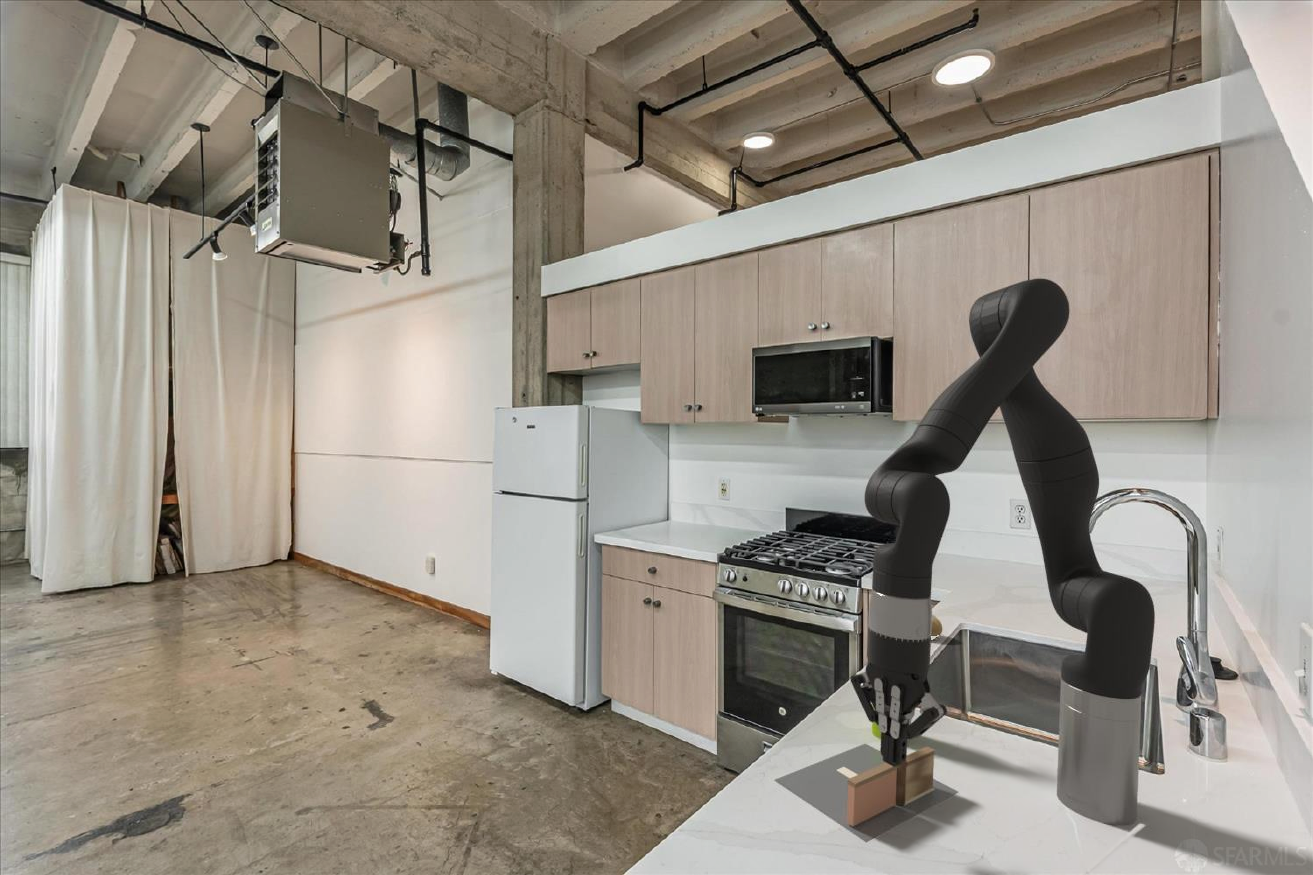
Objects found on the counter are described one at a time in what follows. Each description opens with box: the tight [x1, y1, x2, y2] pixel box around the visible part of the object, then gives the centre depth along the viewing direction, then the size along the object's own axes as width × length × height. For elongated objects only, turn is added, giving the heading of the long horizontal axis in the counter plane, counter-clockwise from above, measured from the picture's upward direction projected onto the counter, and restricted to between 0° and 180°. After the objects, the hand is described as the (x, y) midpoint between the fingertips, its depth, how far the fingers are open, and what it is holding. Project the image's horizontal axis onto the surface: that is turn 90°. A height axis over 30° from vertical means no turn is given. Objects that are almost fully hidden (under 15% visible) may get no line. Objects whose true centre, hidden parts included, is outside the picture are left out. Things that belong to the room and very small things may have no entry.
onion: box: [931, 614, 943, 636], centre depth 160 cm, size 8×8×7 cm
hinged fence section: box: [847, 763, 898, 826], centre depth 83 cm, size 9×1×6 cm, turn 124°
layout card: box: [773, 743, 959, 843], centre depth 90 cm, size 21×16×1 cm
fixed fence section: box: [896, 746, 936, 806], centre depth 88 cm, size 8×2×6 cm, turn 124°
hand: (892, 762), depth 79 cm, fingers closed
